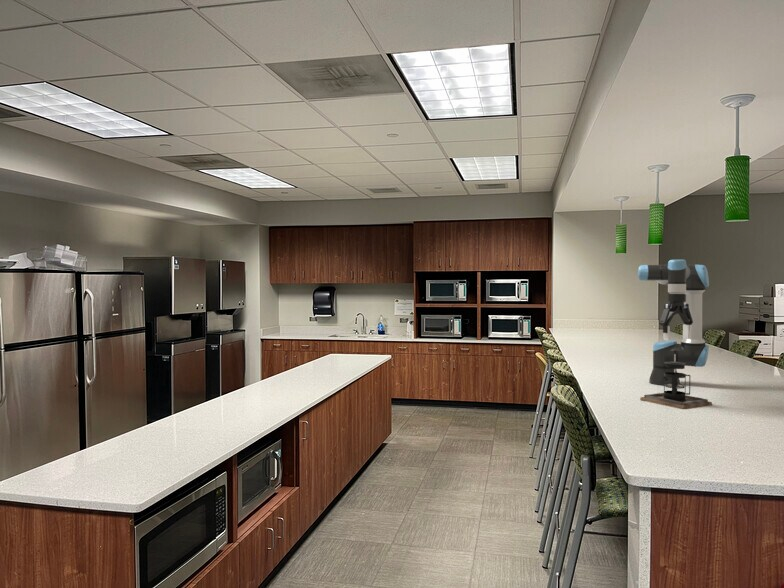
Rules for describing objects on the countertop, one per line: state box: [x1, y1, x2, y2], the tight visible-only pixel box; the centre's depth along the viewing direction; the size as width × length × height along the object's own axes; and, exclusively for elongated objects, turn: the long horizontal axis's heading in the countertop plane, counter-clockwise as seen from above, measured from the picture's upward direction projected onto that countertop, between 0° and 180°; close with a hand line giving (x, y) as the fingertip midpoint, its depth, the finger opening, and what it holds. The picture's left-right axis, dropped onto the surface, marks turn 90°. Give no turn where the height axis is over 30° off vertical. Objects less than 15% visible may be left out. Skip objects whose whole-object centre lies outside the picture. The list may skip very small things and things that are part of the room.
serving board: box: [640, 392, 713, 410], centre depth 265 cm, size 20×22×2 cm
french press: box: [663, 350, 691, 402], centre depth 265 cm, size 12×9×23 cm
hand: (676, 339), depth 265 cm, fingers open, 13 cm apart
